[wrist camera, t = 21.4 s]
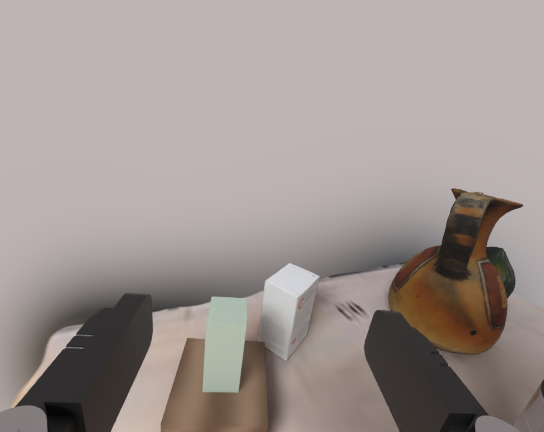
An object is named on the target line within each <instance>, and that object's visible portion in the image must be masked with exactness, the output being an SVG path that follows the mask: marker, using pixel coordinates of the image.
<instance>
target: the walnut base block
mask: <svg viewBox="0 0 544 432" xmlns="http://www.w3.org/2000/svg"><path fill="white" fill-rule="evenodd" d="M204 354H205V339H194V338H187V341H186V344H185V347H184V350H183V354H182V357H181V360H180V363H179V367H178V370H177V373H176V376H175V380H174V383H173V386H172V389H171V393H170V396H169V399H168V402H167V405H166V409H165V412H164V415H163V418H162V422H161V432H267V430H268V406H267V384H266V361H265V342H254V341H245V342H244V351H243V359H242V367H241V375H240V384H239V392H202V391H203V372H204Z"/></svg>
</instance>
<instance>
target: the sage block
mask: <svg viewBox="0 0 544 432" xmlns="http://www.w3.org/2000/svg"><path fill="white" fill-rule="evenodd" d="M246 326H247V299H246V298H228V297H226V298H225V297H212V298H211V303H210V307H209V312H208V316H207V321H206V335H205V354H204V372H203V391H202V392H239V384H240V375H241V367H242V359H243V351H244V342H245V334H246Z"/></svg>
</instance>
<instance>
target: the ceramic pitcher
mask: <svg viewBox="0 0 544 432" xmlns="http://www.w3.org/2000/svg"><path fill="white" fill-rule="evenodd" d="M451 190H452V192H453V194H454V196H455V199H456V201H455V202H454V204H453V206H452V208H451V211H450V215H449V217H448V220H447V224H446V229H445V233H444V236H443V240H442V245H440V246H434V247H431V248H428V249H425V250H424V251H421V252H420V253H418V254H416V255H415V256H414V257H412V258H411V259H410V260H409V261H408V262H407V263H406V264H405V265H404V266H403V267H402V268H401V269H400V270H399V272H398V273H397V275H396V276H395V278H394V280H393V282H392V284H391V286H390V290H389V297H388V299H389V304H390V307H391V309H392V311H398V312H400V313H401V314H402V315H403V317H404V318H405V319H406V321H407V322H408V323H409V325H410V326H411V327H414V328H416V329H417V330H418V331H419V332H420V333H422V334H423V335H424V336H425V337H427V338H428V339H429V340H430V342H431V343H432V344H433V346H436V347H438V348H440V349H443V350H446V351H450V352H456V353H465V354H479V353H481V352H484V351H487V350H488V349H490V348H491V347H492V346H493V345H494V344H495V342H496V341H497V340H498V339H499V337H500V335H501V333H502V331H503V329H504V326H505V321H506V315H507V296H506V291H505V288H504V285H503V282H502V280H501V278H500V276H499V273H498V271H497V270H496V268H495V267H494V266H493V264H492V263H491V262H490V261H489V260H488V258H487V254H486V246H487V241H488V238H489V235H490V233H491V231H492V229H493V227H494V225H495V224H496V222H497V221H498V220H499V218H501V217H502V216H503V215H504V214H506V213H507V212H509V211H512V210H514V209H517V208H520V207H522V206H523V205H522V204H520V203H516V202H511V201H508V200H504V199H499V198H495V197H492V196H487V195H483V193H481V194H480V193H478V192H474V193H469V192H466V191H463V190H461V189H451Z"/></svg>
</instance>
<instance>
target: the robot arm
mask: <svg viewBox="0 0 544 432" xmlns="http://www.w3.org/2000/svg"><path fill="white" fill-rule="evenodd" d="M152 334H153V320H152V298H151V295H149V294H135V293H126V294H124V295H123V296H122V298H121V299H120V301H119V302H118V303H117V305H116V306H115V307H114V308H104V309H103V310H101V311H100V312H98V313H97V314H95V315H94V316H92V317H91V318H89V319H88V320H87V321H86V323H85V324H84V325H83V326H82V327H81V329H80V330H79V331H78V332H77V333H76V336H74V337H73V338H72V339H71V341H70V342H69V343H68V344H67V345H66V348H65V349H63V350H62V351H61V353H60V354H59V355H58V356H57V357H56V359H55V360H54V361H53V362H52V363H51V365H50V366H49V367H48V368H47V369H46V371H45V372H44V373H43V374H42V376H41V377H40V378H39V379H38V380H37V382H36V383H35V384H34V385H33V386H32V388H31V389H30V390H29V391H28V392H27V394H26V395H25V396H24V397H23V398H22V400H21V401H20V402H19V403H18V404H17V405H16V406H15V407H14V408H11V409H8V410H5V411H3V412H0V432H111V430H112V427H113V425H114V423H115V421H116V419H117V417H118V414H119V412H120V410H121V408H122V406H123V404H124V401H125V399H126V397H127V395H128V393H129V391H130V388H131V386H132V384H133V382H134V380H135V378H136V375H137V373H138V371H139V369H140V367H141V365H142V362H143V360H144V358H145V356H146V354H147V352H148V349H149V347H150V343H151V339H152ZM364 350H365V356H366V359H367V362H368V364H369V366H370V368H371V370H372V373H373V375H374V377H375V379H376V381H377V383H378V386H379V388H380V390H381V392H382V394H383V396H384V398H385V401H386V403H387V405H388V407H389V409H390V411H391V413H392V416H393V418H394V420H395V422H396V424H397V426H398V428H399V431H400V432H544V380H543V382H542V383H541V385H540V386H539V388H538V389H537V391H536V392H535V394H534V395H533V397H532V398H531V400H530V401H529V403H528V404H527V406H526V407H525V409H524V410H523V412H522V413H521V415H520V416H519V418H518V419H517V421H516V422H515V423H514V425H513V426H512V425H510V424H509V423H507V422H505V421H503V420H501V419H499V418H496V417H492V416H489V415H488V414H487V413H486V411H485V410H484V409H483V408H482V406H481V405H480V404H479V402H478V401H477V400H476V399H475V397H474V396H473V395H472V394H471V392H470V391H469V390H468V389H467V387H466V386H465V385H464V383H463V382H462V381H461V380H460V378H459V377H458V376H457V375H456V373H455V372H454V371H453V370H452V368H451V367H448V363H447V362H446V361H445V359H444V358H443V357H442V356H441V355H439V352H438V351H437V349H436V348H435V347H434V346H433V344H432V343H431V342H430V340H429V339H428V338H427V337H425V336H424V335H423V334H422V333H420V332H419V331H418V330H417V329H416V328H414V327H411V326H410V325H409V323H408V322H407V321H406V319H405V318H404V317H403V315H402V314H401V313H400V312H398V311H385V310H377V311H376V312H375V313H374V315H373V318H372V321H371V324H370V327H369V331H368V334H367V337H366V340H365V344H364Z"/></svg>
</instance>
